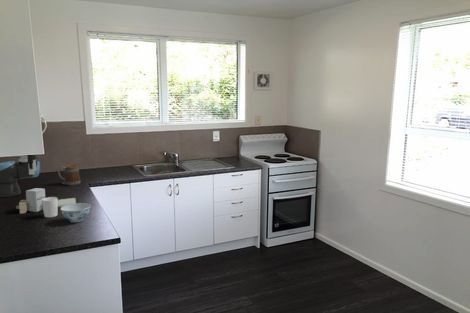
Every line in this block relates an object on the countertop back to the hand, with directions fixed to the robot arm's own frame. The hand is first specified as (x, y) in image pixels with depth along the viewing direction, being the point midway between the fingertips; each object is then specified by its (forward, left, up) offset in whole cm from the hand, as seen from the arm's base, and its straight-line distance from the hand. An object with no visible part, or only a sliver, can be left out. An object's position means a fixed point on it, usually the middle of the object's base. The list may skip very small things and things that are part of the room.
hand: (32, 172), depth 213 cm
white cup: (+17, +8, -23) cm, 30 cm away
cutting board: (-8, +16, -23) cm, 29 cm away
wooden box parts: (-4, -1, -23) cm, 23 cm away
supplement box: (0, 0, -23) cm, 23 cm away
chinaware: (+33, +21, -23) cm, 46 cm away
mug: (-66, +19, -23) cm, 73 cm away
